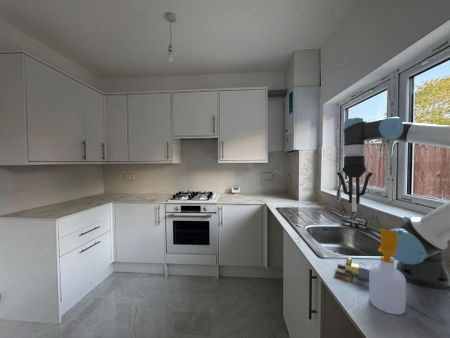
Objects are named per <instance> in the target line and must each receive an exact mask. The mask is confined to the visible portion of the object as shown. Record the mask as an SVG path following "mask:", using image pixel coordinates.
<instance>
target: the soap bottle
mask: <svg viewBox="0 0 450 338" xmlns="http://www.w3.org/2000/svg"><path fill="white" fill-rule="evenodd" d="M378 230H379V231H380V246H379V248H377V249H378V250H377V251H378V252H380V253H381V254H382V255H383V256H380V262H379V263H378V264H377V263H376V264H377V265H375V264H374V265H372V267H371V269H370V271H369V287H368V299H369V302H370V303H371V304H372V306H373V307H375V309H378V310H380V311H382V312H384V313H387V314H390V315H391V314H392V315H398V316H399V315H403V314H405V312H406V304H407V303H406V301H407V300H406V298H407V297H406V292H407V280H406V279H405V276H404V275H403V274H402V273H401V272H400V271H399V270H398V269H396V267H395V265H394V264H395V259H394V258H393V257H392V255H395V253H396V250H397V232H396V231H392V230H390V229H384V228H381V227H380V228H378ZM391 257H392V258H391Z"/></svg>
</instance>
